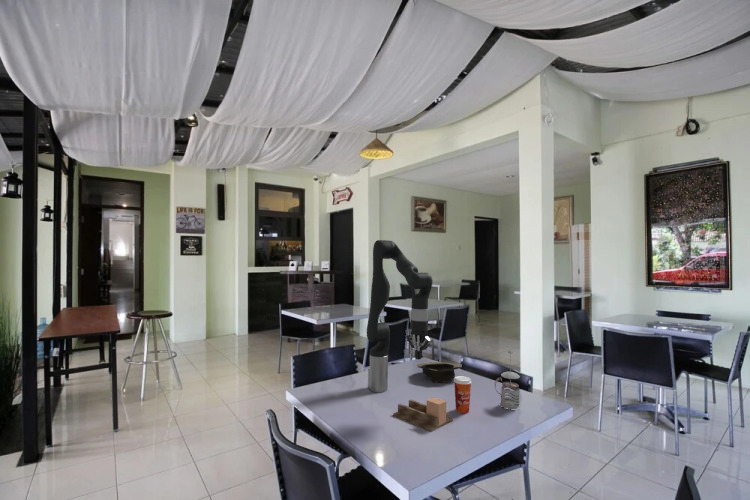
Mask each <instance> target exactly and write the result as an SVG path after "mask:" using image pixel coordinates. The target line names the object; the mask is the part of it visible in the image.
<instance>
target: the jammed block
mask: <svg viewBox="0 0 750 500" xmlns="http://www.w3.org/2000/svg"><path fill="white" fill-rule="evenodd" d="M426 405H427V414H429V415H431V416H434V417H437V418H438V425H440V424H442V423H444V422H446V412H447V401H446V400H443V399H441V398H437V397H432V398H428V399H426Z"/></svg>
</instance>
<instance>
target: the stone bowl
mask: <svg viewBox="0 0 750 500" xmlns="http://www.w3.org/2000/svg"><path fill="white" fill-rule="evenodd" d="M416 366H417V368H419V369H422V370H421V371H422V374H423V375H425V377H428V378H430V379H431V382H432V383H434V384H435V383H437V384H439V383H444V382H445V383H446V382H447V383H448V382H449V381H451V380H454V379H455V377H456V374H455V373H456V372H455V370H459V369H460V368H462V367H463V366H462V365H459V364H456V363H452V362H445V361H444V362H438V361H437V362H430V361H429V362H422V363H417V364H416Z"/></svg>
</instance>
